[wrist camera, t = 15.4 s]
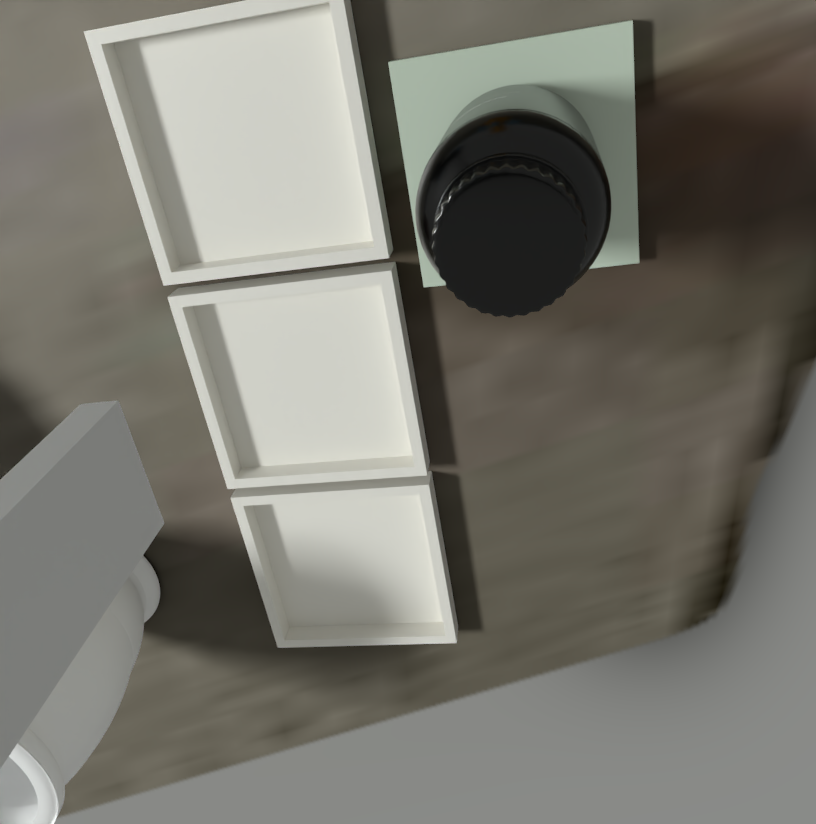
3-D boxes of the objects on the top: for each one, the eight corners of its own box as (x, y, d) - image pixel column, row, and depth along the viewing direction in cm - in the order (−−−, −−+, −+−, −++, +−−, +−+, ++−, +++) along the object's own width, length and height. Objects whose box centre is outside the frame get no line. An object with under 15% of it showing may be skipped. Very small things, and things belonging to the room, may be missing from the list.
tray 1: (99, 30, 35) (83, 31, 33) (347, -18, 32) (340, -18, 31) (174, 276, 40) (163, 285, 38) (393, 249, 37) (389, 258, 36)
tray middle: (178, 287, 40) (167, 296, 39) (395, 261, 38) (391, 270, 37) (235, 475, 45) (227, 489, 44) (429, 461, 43) (427, 475, 42)
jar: (176, 526, 47) (45, 730, 34) (179, 649, 52) (65, 867, 39) (9, 496, 48) (-183, 684, 35) (28, 619, 53) (-134, 825, 40)
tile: (390, 60, 34) (388, 62, 33) (630, 19, 32) (632, 20, 31) (425, 282, 38) (423, 287, 37) (637, 257, 36) (639, 262, 35)
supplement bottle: (473, 56, 32) (449, 86, 22) (623, 119, 33) (670, 179, 22) (415, 210, 36) (370, 300, 25) (552, 265, 36) (565, 377, 26)
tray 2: (238, 484, 45) (230, 497, 44) (431, 470, 43) (429, 484, 42) (283, 631, 50) (277, 647, 49) (458, 626, 48) (456, 642, 47)
